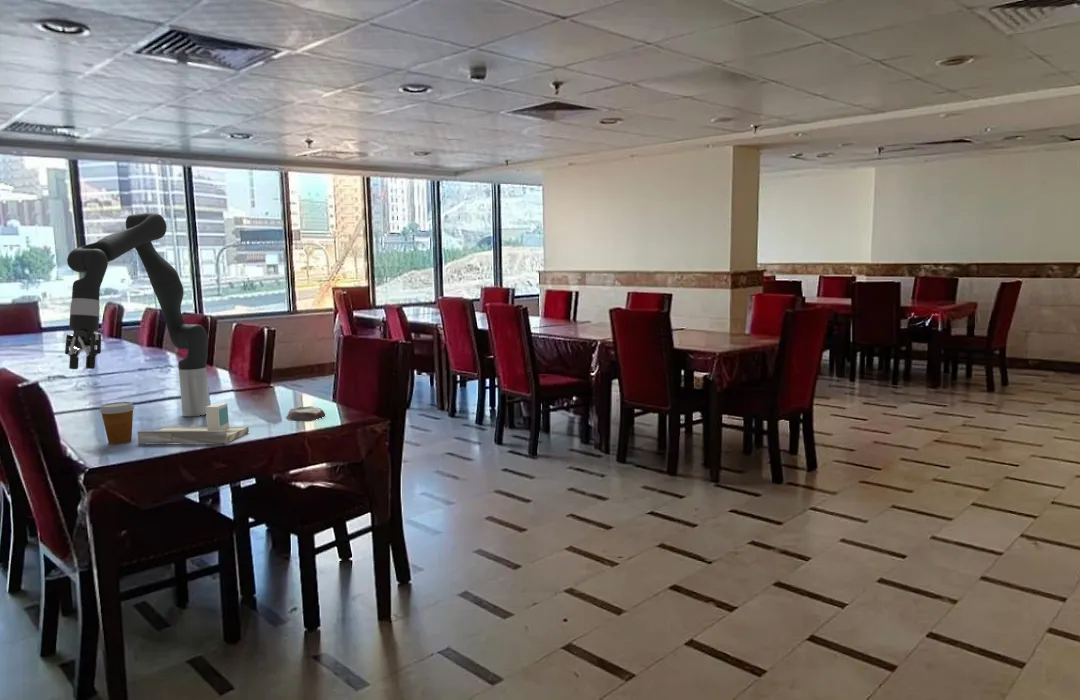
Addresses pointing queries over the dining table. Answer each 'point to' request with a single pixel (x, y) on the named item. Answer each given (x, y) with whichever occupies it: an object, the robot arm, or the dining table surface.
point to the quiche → (305, 414)
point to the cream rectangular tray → (190, 435)
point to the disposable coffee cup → (118, 421)
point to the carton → (217, 417)
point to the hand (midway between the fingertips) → (81, 368)
